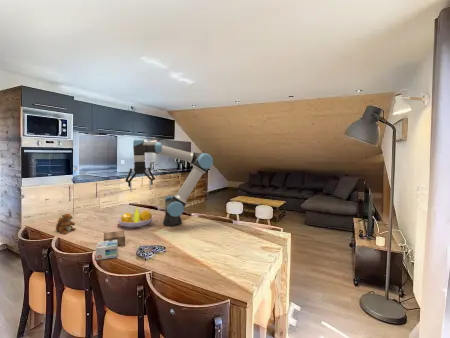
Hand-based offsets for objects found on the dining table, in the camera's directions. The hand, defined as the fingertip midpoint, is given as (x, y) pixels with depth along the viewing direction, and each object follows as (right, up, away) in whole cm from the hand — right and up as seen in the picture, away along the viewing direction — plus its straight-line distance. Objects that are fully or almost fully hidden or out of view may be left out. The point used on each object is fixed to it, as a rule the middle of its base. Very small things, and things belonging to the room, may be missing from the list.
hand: (141, 190), depth 176 cm
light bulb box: (-9, -30, -32) cm, 45 cm away
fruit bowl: (-10, -29, +19) cm, 37 cm away
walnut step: (-10, -32, -20) cm, 39 cm away
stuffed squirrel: (-56, -30, +2) cm, 64 cm away
